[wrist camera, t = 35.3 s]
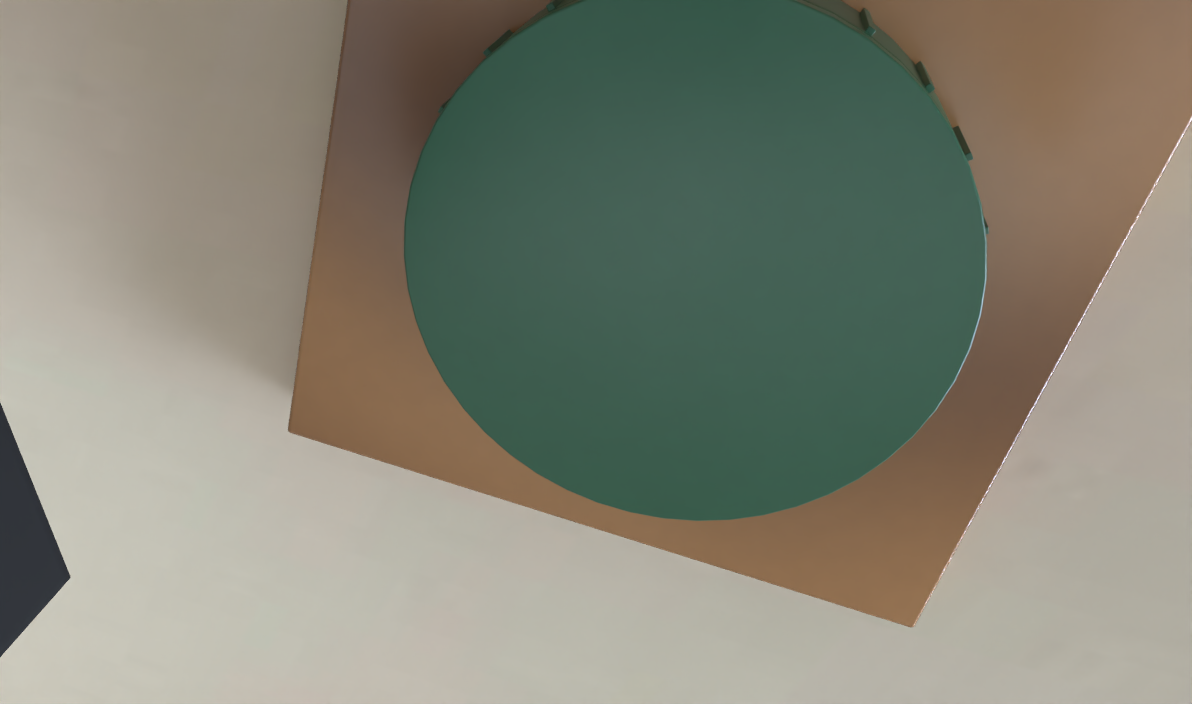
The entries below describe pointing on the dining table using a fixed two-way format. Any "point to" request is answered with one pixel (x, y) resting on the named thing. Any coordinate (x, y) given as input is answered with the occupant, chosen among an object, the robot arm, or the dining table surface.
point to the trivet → (1004, 333)
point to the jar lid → (697, 251)
